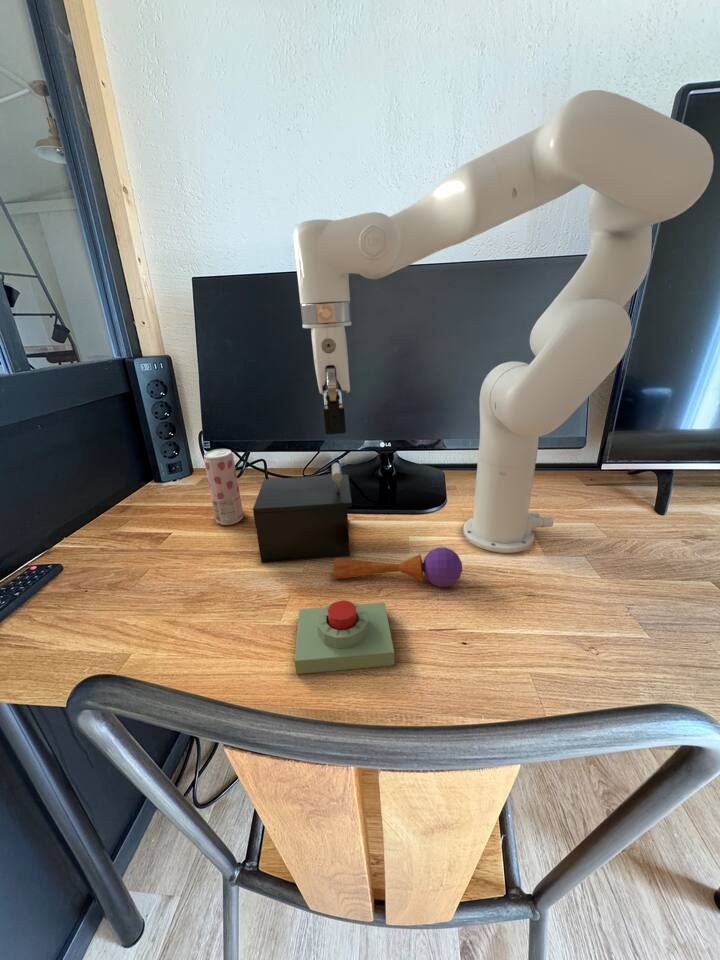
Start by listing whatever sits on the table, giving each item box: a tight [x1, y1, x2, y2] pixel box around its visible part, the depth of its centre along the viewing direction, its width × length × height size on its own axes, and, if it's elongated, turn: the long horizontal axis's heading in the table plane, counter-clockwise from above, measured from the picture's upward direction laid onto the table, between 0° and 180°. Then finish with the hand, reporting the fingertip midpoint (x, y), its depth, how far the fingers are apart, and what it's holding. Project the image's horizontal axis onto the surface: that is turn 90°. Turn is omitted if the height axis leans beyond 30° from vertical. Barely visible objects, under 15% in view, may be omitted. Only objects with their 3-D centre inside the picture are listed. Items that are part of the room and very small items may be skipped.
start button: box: [328, 599, 357, 631], centre depth 51 cm, size 4×4×2 cm
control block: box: [294, 600, 395, 675], centre depth 52 cm, size 12×9×4 cm
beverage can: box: [203, 448, 244, 526], centre depth 82 cm, size 6×6×15 cm
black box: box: [253, 507, 351, 564], centre depth 74 cm, size 16×13×10 cm
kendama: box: [333, 546, 463, 588], centre depth 63 cm, size 6×6×20 cm
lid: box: [252, 462, 353, 514], centre depth 71 cm, size 16×13×5 cm
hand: (335, 425), depth 68 cm, fingers open, 9 cm apart
